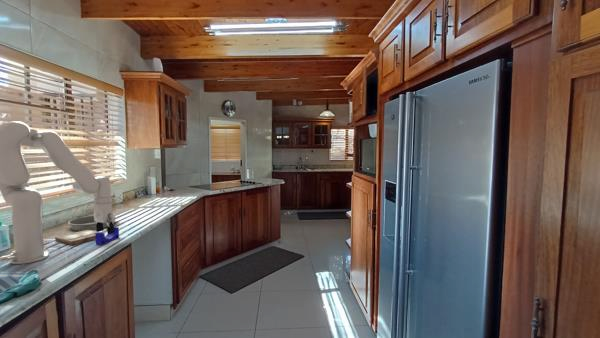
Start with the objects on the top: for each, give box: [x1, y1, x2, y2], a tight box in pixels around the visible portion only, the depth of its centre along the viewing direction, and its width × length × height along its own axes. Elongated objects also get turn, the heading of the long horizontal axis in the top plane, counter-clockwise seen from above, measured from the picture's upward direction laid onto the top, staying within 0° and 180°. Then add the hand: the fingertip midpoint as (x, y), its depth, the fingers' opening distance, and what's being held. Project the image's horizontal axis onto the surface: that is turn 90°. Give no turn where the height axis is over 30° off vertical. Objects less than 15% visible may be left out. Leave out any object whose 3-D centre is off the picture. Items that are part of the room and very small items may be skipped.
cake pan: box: [67, 215, 117, 232], centre depth 187 cm, size 25×25×4 cm
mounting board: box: [54, 230, 106, 246], centre depth 161 cm, size 16×16×2 cm
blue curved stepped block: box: [95, 226, 120, 246], centre depth 158 cm, size 12×4×6 cm, turn 171°
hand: (105, 232), depth 158 cm, fingers open, 9 cm apart
